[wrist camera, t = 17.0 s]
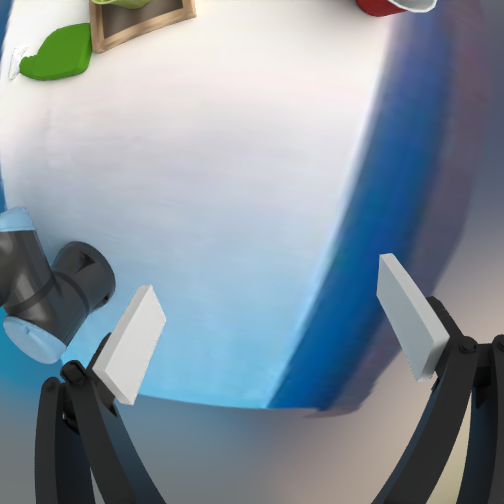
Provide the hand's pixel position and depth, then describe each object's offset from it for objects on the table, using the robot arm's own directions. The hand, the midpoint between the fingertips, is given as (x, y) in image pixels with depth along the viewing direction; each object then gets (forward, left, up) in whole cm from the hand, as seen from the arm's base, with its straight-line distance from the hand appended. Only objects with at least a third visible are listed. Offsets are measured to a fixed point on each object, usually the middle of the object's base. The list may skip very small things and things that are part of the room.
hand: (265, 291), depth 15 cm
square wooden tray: (-14, +36, -29) cm, 48 cm away
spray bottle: (-35, +35, -29) cm, 58 cm away
